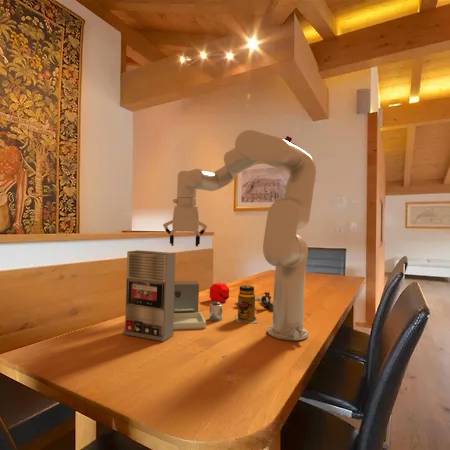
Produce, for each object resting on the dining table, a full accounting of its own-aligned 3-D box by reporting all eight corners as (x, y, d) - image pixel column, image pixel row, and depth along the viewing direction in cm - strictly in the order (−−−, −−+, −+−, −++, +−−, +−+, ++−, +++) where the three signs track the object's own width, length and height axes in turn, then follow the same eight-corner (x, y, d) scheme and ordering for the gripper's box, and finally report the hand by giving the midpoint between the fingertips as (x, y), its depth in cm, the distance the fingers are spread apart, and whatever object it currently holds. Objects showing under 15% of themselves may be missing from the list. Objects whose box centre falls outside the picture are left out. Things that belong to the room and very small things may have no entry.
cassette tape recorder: (122, 335, 93) (125, 251, 93) (135, 328, 99) (137, 250, 98) (162, 342, 88) (165, 254, 88) (173, 335, 94) (176, 253, 94)
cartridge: (223, 321, 109) (223, 304, 109) (210, 321, 108) (211, 304, 108) (220, 317, 114) (221, 300, 113) (208, 317, 113) (209, 301, 112)
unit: (198, 317, 112) (199, 284, 112) (170, 318, 110) (171, 284, 110) (195, 312, 119) (196, 280, 119) (169, 313, 116) (170, 281, 116)
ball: (219, 304, 131) (220, 286, 131) (206, 301, 136) (206, 283, 136) (231, 301, 137) (232, 284, 137) (218, 298, 142) (218, 281, 142)
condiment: (237, 322, 108) (238, 288, 108) (235, 315, 116) (236, 283, 116) (257, 323, 108) (259, 288, 108) (254, 316, 117) (255, 284, 116)
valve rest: (276, 310, 124) (276, 304, 124) (247, 311, 122) (247, 305, 122) (264, 301, 138) (264, 296, 138) (238, 302, 135) (238, 296, 135)
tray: (205, 328, 101) (206, 322, 101) (171, 329, 99) (171, 323, 99) (201, 317, 112) (201, 312, 112) (169, 318, 110) (169, 313, 110)
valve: (239, 308, 130) (265, 311, 124) (237, 293, 129) (263, 295, 123) (246, 302, 136) (272, 304, 129) (244, 287, 135) (270, 289, 128)
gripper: (164, 201, 117) (162, 246, 118) (209, 203, 121) (207, 247, 121) (163, 202, 125) (162, 244, 125) (206, 204, 128) (204, 245, 129)
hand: (184, 245), depth 123 cm, fingers open, 9 cm apart
